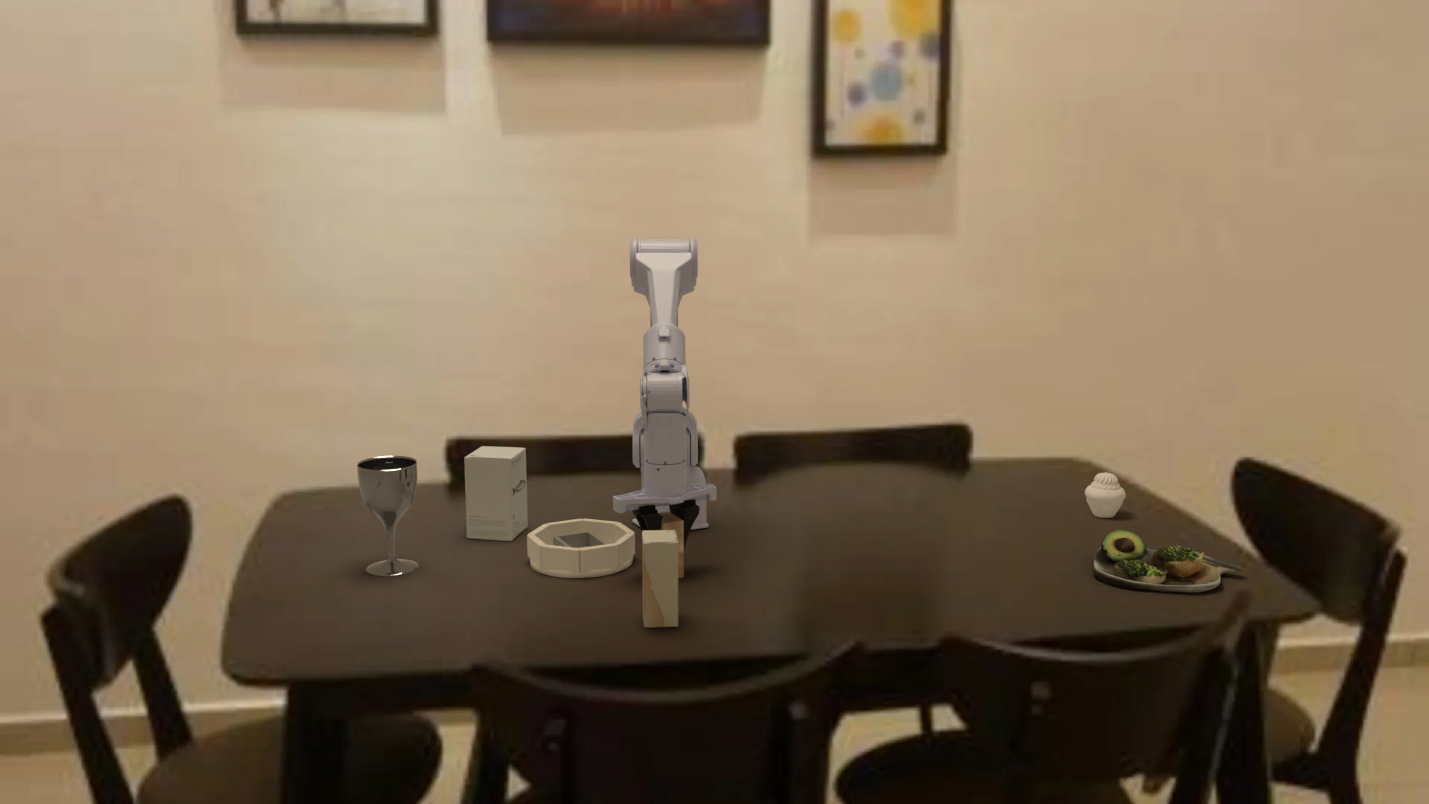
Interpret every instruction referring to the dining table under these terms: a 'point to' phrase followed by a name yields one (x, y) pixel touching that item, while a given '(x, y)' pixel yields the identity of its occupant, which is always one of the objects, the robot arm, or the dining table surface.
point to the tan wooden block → (677, 524)
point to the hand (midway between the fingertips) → (665, 556)
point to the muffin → (1105, 495)
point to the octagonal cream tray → (581, 548)
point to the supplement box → (496, 493)
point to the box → (660, 578)
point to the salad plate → (1154, 565)
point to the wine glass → (388, 502)
